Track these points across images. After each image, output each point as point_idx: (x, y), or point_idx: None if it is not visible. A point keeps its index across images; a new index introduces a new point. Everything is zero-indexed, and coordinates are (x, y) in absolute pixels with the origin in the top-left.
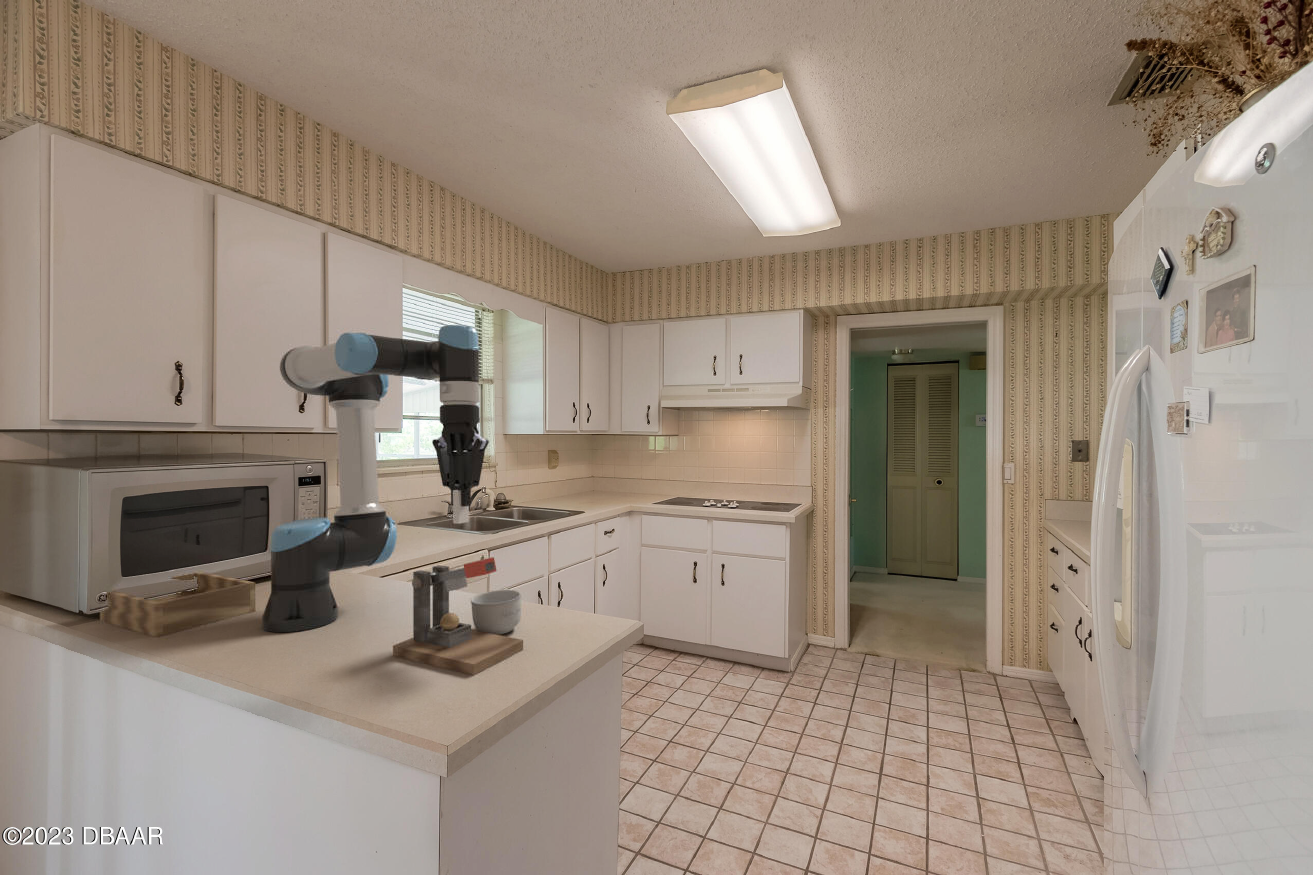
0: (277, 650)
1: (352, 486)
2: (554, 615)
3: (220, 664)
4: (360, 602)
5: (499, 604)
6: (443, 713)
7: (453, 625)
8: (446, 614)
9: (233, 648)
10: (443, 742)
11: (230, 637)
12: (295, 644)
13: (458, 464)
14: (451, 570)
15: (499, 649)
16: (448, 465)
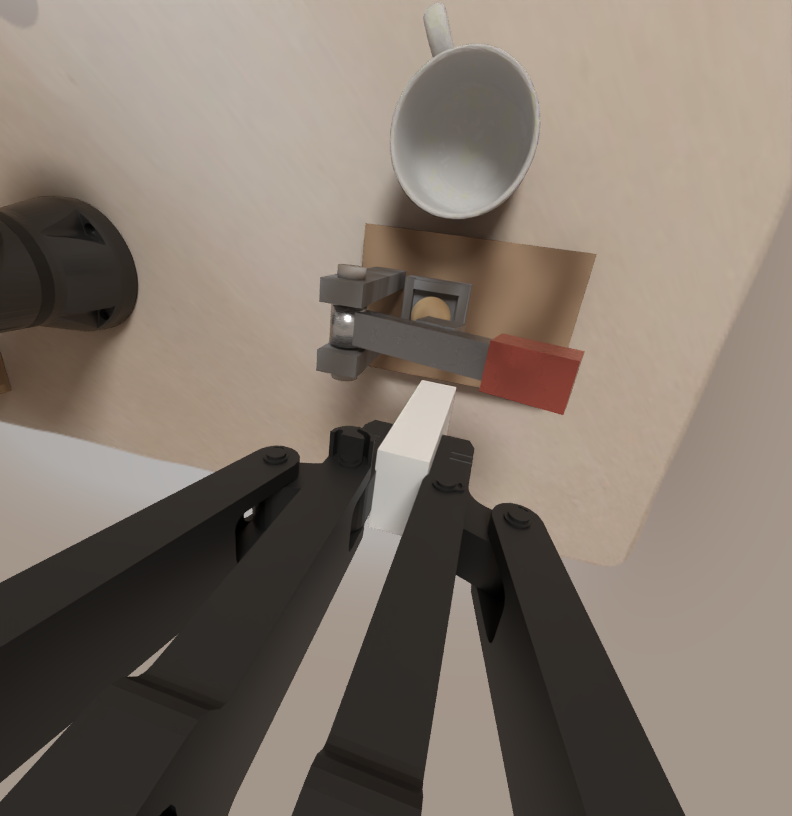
0: (187, 387)
1: None
2: None
3: (178, 444)
4: (45, 102)
5: (505, 199)
6: (570, 509)
7: None
8: None
9: (132, 397)
10: (610, 565)
11: (82, 363)
12: (184, 360)
13: (290, 641)
14: (406, 331)
15: (565, 323)
16: (170, 590)
